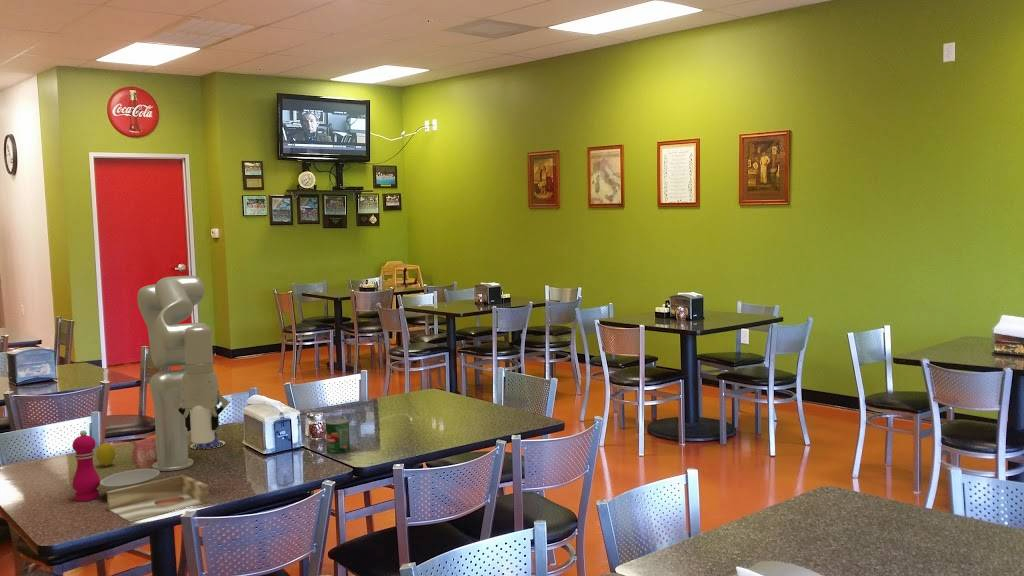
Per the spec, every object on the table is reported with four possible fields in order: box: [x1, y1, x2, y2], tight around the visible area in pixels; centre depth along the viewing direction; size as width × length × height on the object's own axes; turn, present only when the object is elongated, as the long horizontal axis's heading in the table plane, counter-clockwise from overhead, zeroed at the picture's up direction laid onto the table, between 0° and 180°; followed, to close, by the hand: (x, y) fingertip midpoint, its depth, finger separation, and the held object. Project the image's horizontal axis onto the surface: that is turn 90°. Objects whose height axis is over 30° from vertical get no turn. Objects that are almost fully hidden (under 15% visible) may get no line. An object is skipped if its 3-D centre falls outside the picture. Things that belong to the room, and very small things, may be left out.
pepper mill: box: [72, 429, 101, 502], centre depth 251 cm, size 7×7×20 cm
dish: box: [99, 468, 161, 491], centre depth 255 cm, size 18×14×5 cm
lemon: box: [96, 442, 116, 467], centre depth 285 cm, size 6×6×8 cm
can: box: [190, 406, 215, 444], centre depth 251 cm, size 6×6×12 cm
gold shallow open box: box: [106, 474, 210, 523], centre depth 243 cm, size 16×22×5 cm
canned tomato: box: [324, 418, 351, 456], centre depth 296 cm, size 8×8×11 cm
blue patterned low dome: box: [189, 430, 226, 450], centre depth 309 cm, size 12×12×5 cm
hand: (202, 429), depth 251 cm, fingers closed on can, 6 cm apart
